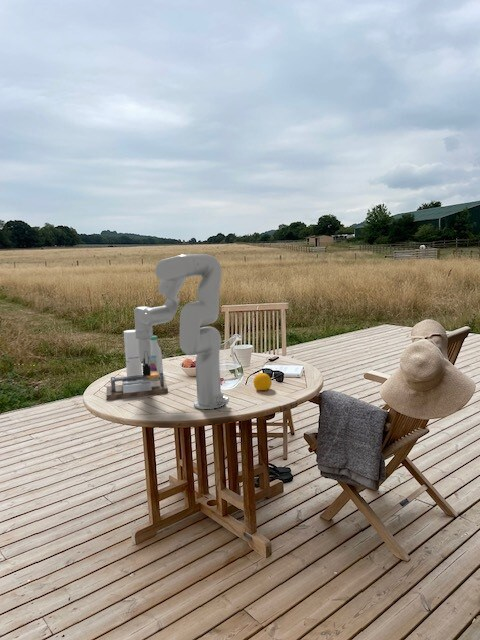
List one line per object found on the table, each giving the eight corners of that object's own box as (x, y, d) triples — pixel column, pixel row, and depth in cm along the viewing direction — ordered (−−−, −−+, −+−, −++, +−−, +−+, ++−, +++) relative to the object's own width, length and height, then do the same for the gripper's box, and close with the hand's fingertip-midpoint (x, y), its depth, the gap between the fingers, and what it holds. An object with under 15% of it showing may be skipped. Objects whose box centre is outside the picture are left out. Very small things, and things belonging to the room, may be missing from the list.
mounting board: (106, 400, 193) (106, 395, 193) (107, 390, 206) (106, 386, 206) (168, 392, 200) (167, 388, 200) (164, 384, 213) (164, 380, 213)
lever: (111, 382, 197) (111, 380, 197) (111, 379, 202) (111, 377, 201) (159, 376, 203) (158, 374, 203) (158, 374, 207) (157, 372, 207)
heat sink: (111, 394, 193) (110, 381, 193) (111, 386, 206) (110, 373, 206) (164, 388, 199) (164, 375, 199) (161, 380, 212) (160, 368, 212)
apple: (271, 392, 195) (270, 375, 193) (252, 392, 196) (252, 375, 194) (272, 387, 202) (271, 370, 201) (254, 387, 203) (254, 370, 202)
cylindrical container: (138, 384, 215) (135, 332, 211) (124, 383, 217) (120, 332, 213) (144, 379, 222) (141, 329, 218) (131, 379, 223) (127, 329, 220)
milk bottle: (157, 371, 236) (155, 334, 233) (166, 374, 231) (163, 335, 228) (144, 375, 231) (142, 336, 228) (152, 377, 225) (150, 338, 222)
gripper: (134, 332, 207) (137, 371, 210) (136, 338, 193) (139, 379, 196) (151, 331, 209) (153, 369, 212) (154, 336, 195) (156, 378, 198)
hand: (146, 374), depth 204 cm, fingers closed
